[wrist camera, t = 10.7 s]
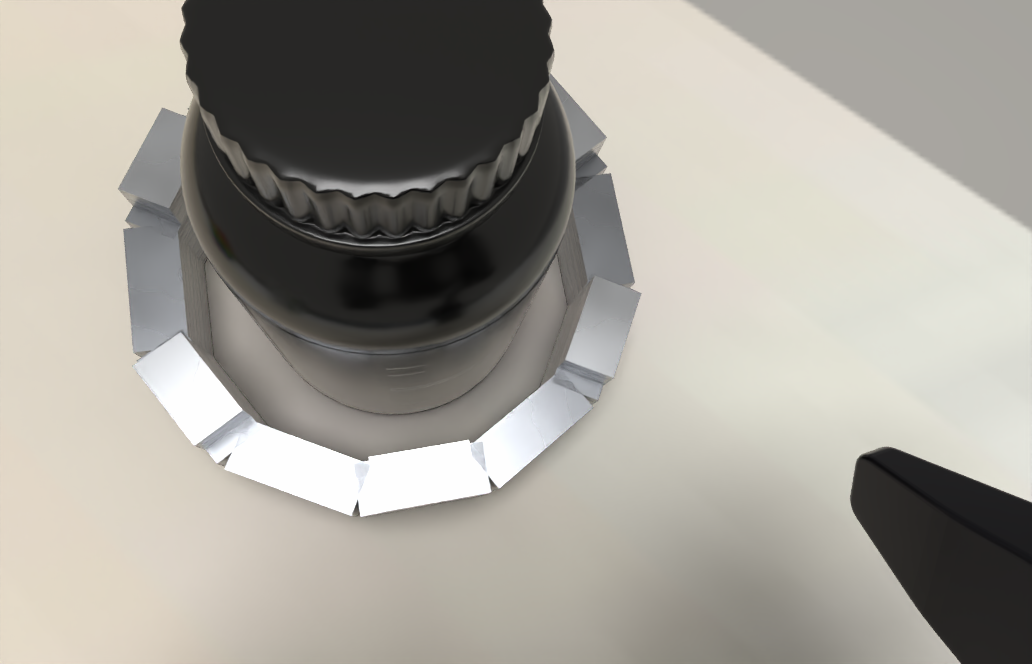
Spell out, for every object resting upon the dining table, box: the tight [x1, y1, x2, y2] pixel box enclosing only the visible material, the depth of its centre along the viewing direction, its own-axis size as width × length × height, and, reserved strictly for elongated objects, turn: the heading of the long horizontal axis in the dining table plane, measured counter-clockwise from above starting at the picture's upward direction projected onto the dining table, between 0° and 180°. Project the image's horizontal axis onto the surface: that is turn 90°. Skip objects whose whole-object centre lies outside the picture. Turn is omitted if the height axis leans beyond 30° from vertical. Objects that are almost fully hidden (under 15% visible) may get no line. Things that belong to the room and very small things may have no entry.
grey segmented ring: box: [118, 74, 641, 517], centre depth 20 cm, size 12×12×4 cm
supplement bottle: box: [180, 0, 576, 414], centre depth 16 cm, size 7×7×12 cm
